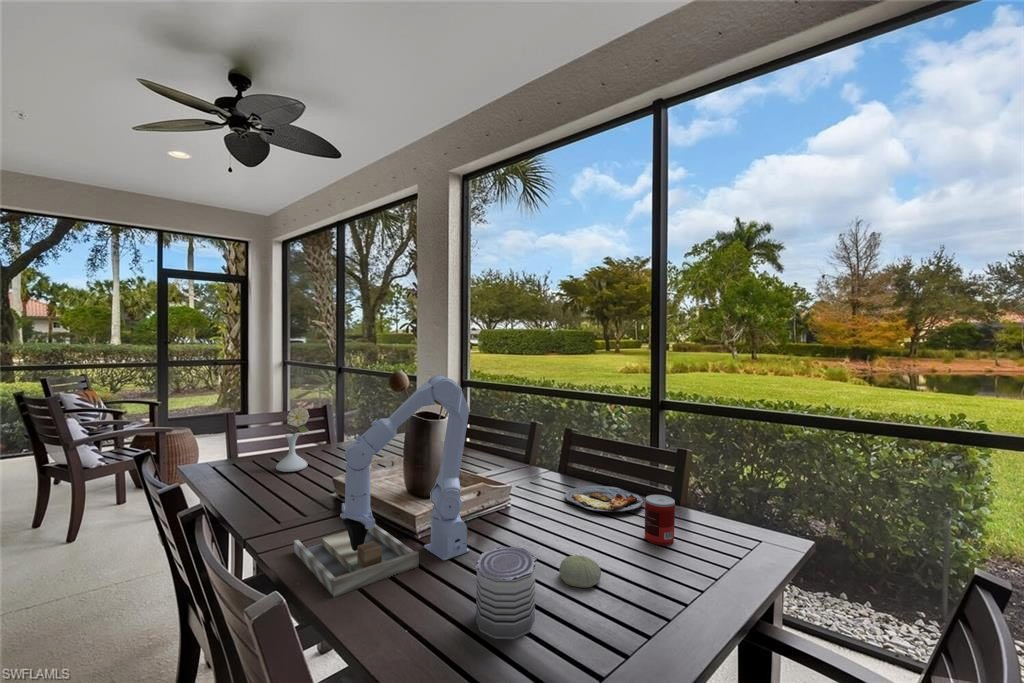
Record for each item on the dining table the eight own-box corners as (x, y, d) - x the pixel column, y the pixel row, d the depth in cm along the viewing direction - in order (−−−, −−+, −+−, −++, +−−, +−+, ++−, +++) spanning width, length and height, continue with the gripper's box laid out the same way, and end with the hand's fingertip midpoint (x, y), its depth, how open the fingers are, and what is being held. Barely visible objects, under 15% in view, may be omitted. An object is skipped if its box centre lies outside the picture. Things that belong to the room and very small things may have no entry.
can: (547, 626, 90) (548, 563, 90) (497, 648, 84) (498, 581, 83) (512, 598, 99) (513, 541, 99) (464, 616, 93) (465, 555, 93)
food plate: (658, 507, 153) (658, 496, 153) (606, 523, 140) (606, 511, 140) (602, 488, 174) (602, 478, 174) (552, 500, 161) (552, 490, 161)
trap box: (418, 567, 112) (418, 552, 112) (333, 597, 99) (333, 581, 99) (370, 531, 131) (370, 519, 131) (293, 552, 118) (294, 539, 118)
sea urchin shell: (595, 587, 101) (571, 554, 104) (570, 605, 104) (548, 572, 107) (610, 569, 108) (587, 539, 111) (587, 587, 111) (565, 556, 114)
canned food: (675, 536, 131) (676, 497, 131) (672, 548, 124) (673, 506, 124) (647, 531, 135) (647, 492, 134) (642, 542, 127) (643, 501, 127)
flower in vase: (269, 473, 183) (269, 408, 182) (287, 465, 194) (288, 404, 194) (300, 475, 181) (300, 409, 180) (317, 467, 192) (317, 405, 192)
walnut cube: (381, 564, 108) (381, 546, 108) (364, 569, 106) (365, 552, 106) (373, 557, 111) (374, 541, 111) (357, 563, 109) (357, 545, 109)
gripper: (329, 488, 116) (329, 543, 117) (354, 504, 106) (353, 565, 106) (357, 482, 121) (356, 535, 121) (383, 498, 110) (383, 556, 110)
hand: (357, 549), depth 114 cm, fingers closed
